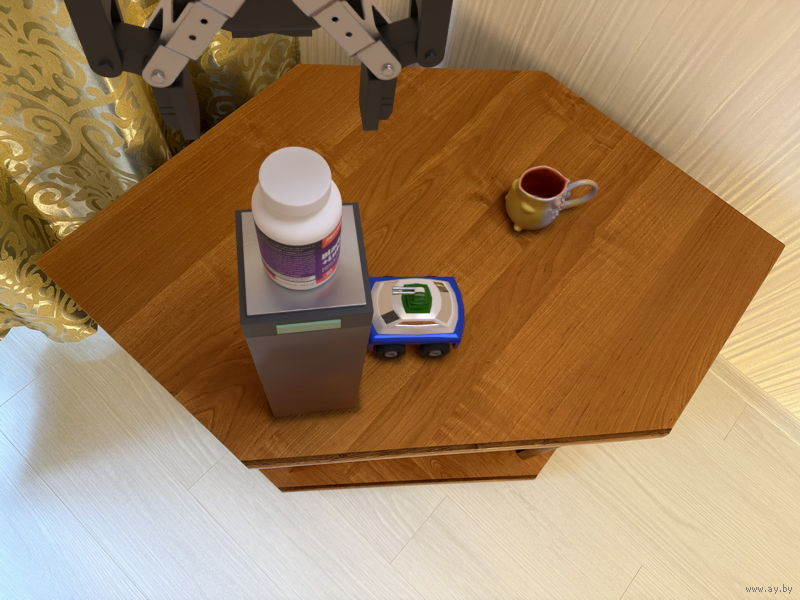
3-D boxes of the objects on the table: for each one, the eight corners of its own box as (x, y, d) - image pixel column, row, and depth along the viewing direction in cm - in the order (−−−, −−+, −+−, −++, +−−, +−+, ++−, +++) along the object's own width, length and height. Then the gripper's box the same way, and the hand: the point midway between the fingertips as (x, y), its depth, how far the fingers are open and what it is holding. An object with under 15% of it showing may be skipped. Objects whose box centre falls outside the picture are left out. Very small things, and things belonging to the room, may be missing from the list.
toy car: (357, 287, 72) (361, 250, 64) (453, 286, 74) (470, 250, 65) (359, 360, 69) (364, 331, 60) (461, 357, 70) (480, 329, 62)
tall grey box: (274, 419, 65) (239, 325, 39) (268, 340, 68) (233, 206, 43) (356, 409, 66) (374, 312, 41) (346, 332, 70) (358, 198, 44)
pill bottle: (337, 294, 41) (341, 220, 32) (258, 289, 40) (239, 213, 31) (342, 226, 43) (346, 139, 34) (266, 220, 42) (250, 131, 34)
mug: (507, 235, 78) (522, 207, 72) (497, 190, 80) (511, 160, 74) (593, 230, 80) (615, 203, 74) (581, 187, 82) (601, 157, 76)
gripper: (483, -370, 17) (411, 60, 32) (-62, -420, 15) (131, 68, 30) (545, -220, 14) (434, 176, 29) (-118, -254, 12) (127, 194, 27)
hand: (281, 121), depth 29 cm, fingers open, 8 cm apart
